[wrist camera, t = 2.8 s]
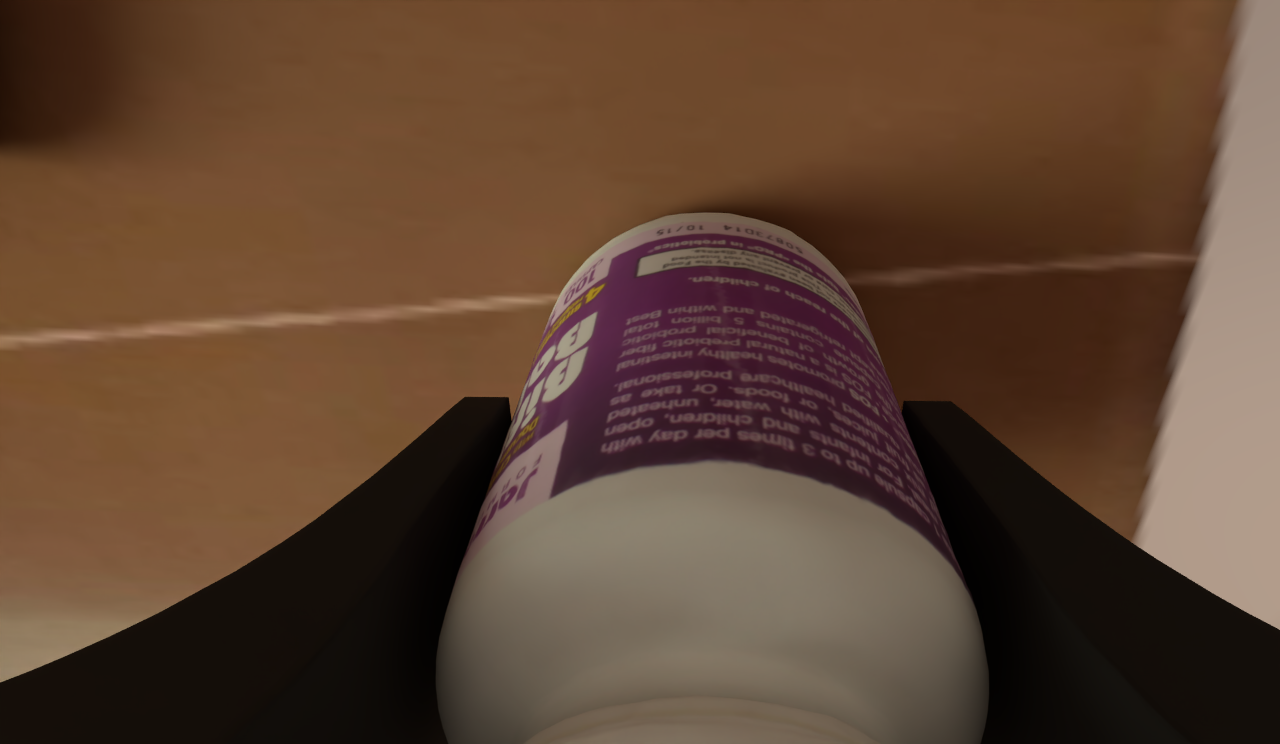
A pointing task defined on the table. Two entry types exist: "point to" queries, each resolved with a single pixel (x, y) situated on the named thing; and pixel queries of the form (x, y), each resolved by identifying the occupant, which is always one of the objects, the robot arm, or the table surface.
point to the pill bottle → (709, 520)
